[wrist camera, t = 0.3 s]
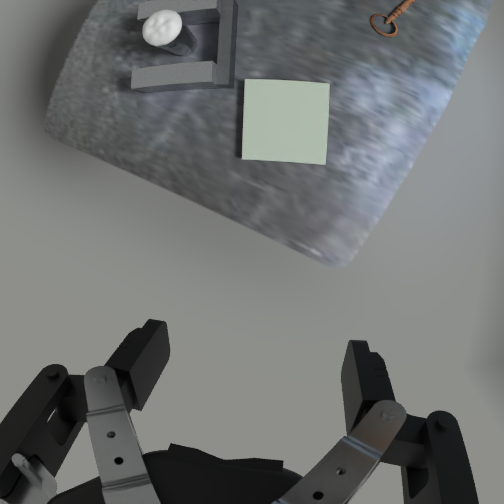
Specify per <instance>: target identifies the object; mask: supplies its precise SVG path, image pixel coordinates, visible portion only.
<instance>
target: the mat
mask: <svg viewBox="0 0 504 504" xmlns="http://www.w3.org/2000/svg"><path fill="white" fill-rule="evenodd" d="M329 86H330V84H327V83H317V82H304V81H289V80H265V79H245V90H244V115H243V142H242V159H249V160H269V161H285V162H299V163H311V164H322V165H326V150H327V133H328V113H329Z"/></svg>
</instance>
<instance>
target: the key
mask: <svg viewBox="0 0 504 504" xmlns="http://www.w3.org/2000/svg"><path fill="white" fill-rule="evenodd" d="M414 1H415V0H406V1H404V2H403V3H402V4H401V5H400V6H398V7H397V9H396V10H395V11H394V12H393V13H391V15H390V16H389V17H387V16H385V15H382V14H375V15H373V16H372V17H371V19H370V22H371V25H372V27H373V28H374V29H375V30H376V31H377V32H378V33H380V34H381V35H383V36H386V37H394V36H396V35H397V33H398V29H397V26H396V24H395V23H394V21H393V20H394V19H395V18H397V16H398V15H400V14H401V13H403V12H404V10H405V9H406V8H407V7H408V6H409V5H410V4H412V3H413V2H414ZM375 16H383V17H385V18H387V19H386V22H385V24H388V23H391V22H392V24H393V25H394V27H395V33H393V34H386V33H383V32H382V31H380V30H379V29H378V28H377V27H376V26H375V25H374V23H373V18H374V17H375Z"/></svg>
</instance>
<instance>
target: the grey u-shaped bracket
mask: <svg viewBox="0 0 504 504" xmlns="http://www.w3.org/2000/svg"><path fill="white" fill-rule="evenodd" d="M162 10H172V11H175V12H177V13H178V14H179V15H180V17H181V19H182V20H183V21H184V23H185V24H186V25H195V24H205V23H218V22H220V23H219V38H218V55H217V64H216V63H214V62H213V61H203V62H189V63H178V64H168V65H160V66H152V67H145V68H138V69H132V78H131V89H134V90H138V91H143V92H147V93H154V92H165V91H177V90H193V89H217V88H234V73H235V52H236V33H237V15H238V5H237V3H236V1H235V0H153V1H149V2H144V3H139V9H138V16H137V20H138V21H140V22H142V23H143V24H144V23H145V21H146V20H147V19H148V18H149V17H150V16H151V15H153V14H154V13H156V12H159V11H162Z"/></svg>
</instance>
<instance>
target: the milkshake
mask: <svg viewBox="0 0 504 504" xmlns="http://www.w3.org/2000/svg"><path fill="white" fill-rule="evenodd" d="M142 32H143V38H144V40H145V41H146V42H148V43H149V44H151V45H154V46H156V47H160V48H163V49H165V50H167V51H170V52H172V53H175V54H177V55H179V56H188V55H190V54H191V53H193V52H194V51H195V49H196V47H197V46H198V45H197V39H196V37H195V36H194V35H193V33H192V32H191V31H190V29H189V28H188V27H187V26H186V24H185V23H184V21H183V20H182V19H181V17H180V15H179V14H178V13H177V12H175V11H172V10H162V11H159V12H156V13H154V14H153V15H151V16H150V17H149V18H148V19H147V20H146V21H145V23H144V25H143V30H142Z"/></svg>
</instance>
